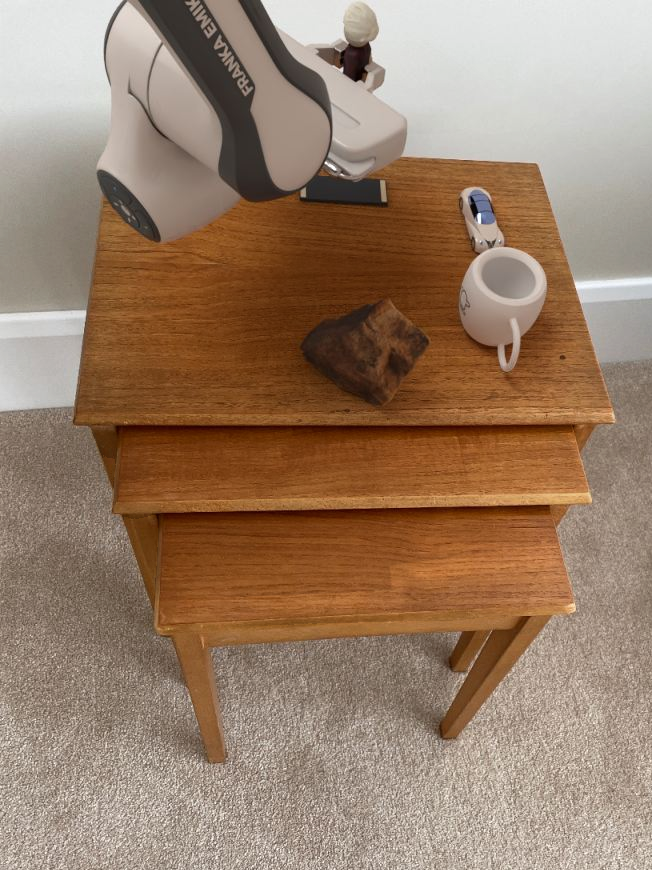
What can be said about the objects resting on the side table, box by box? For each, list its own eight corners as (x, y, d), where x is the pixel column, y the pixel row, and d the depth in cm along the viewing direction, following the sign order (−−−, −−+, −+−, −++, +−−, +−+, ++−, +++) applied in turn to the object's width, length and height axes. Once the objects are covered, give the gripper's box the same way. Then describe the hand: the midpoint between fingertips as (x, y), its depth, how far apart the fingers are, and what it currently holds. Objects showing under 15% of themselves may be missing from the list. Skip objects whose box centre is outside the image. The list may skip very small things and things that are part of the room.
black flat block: (299, 201, 88) (299, 198, 88) (299, 176, 90) (299, 173, 89) (387, 206, 89) (387, 203, 89) (385, 181, 91) (385, 178, 91)
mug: (445, 294, 85) (461, 241, 78) (519, 294, 86) (542, 241, 79) (463, 387, 80) (482, 339, 73) (542, 384, 81) (568, 337, 74)
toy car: (480, 277, 87) (485, 260, 84) (456, 197, 91) (460, 179, 89) (510, 275, 87) (517, 258, 85) (485, 196, 92) (490, 178, 90)
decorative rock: (420, 387, 79) (441, 319, 70) (387, 428, 77) (404, 362, 67) (323, 327, 81) (330, 252, 71) (288, 365, 78) (291, 292, 69)
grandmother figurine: (334, 100, 83) (345, -24, 72) (370, 107, 83) (386, -15, 72) (324, 149, 80) (333, 28, 68) (361, 157, 80) (376, 37, 69)
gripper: (351, 157, 65) (451, 86, 71) (179, 32, 69) (288, -25, 75) (345, 215, 71) (438, 145, 77) (186, 96, 75) (286, 38, 81)
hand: (362, 60), depth 76 cm, fingers closed on grandmother figurine, 3 cm apart
